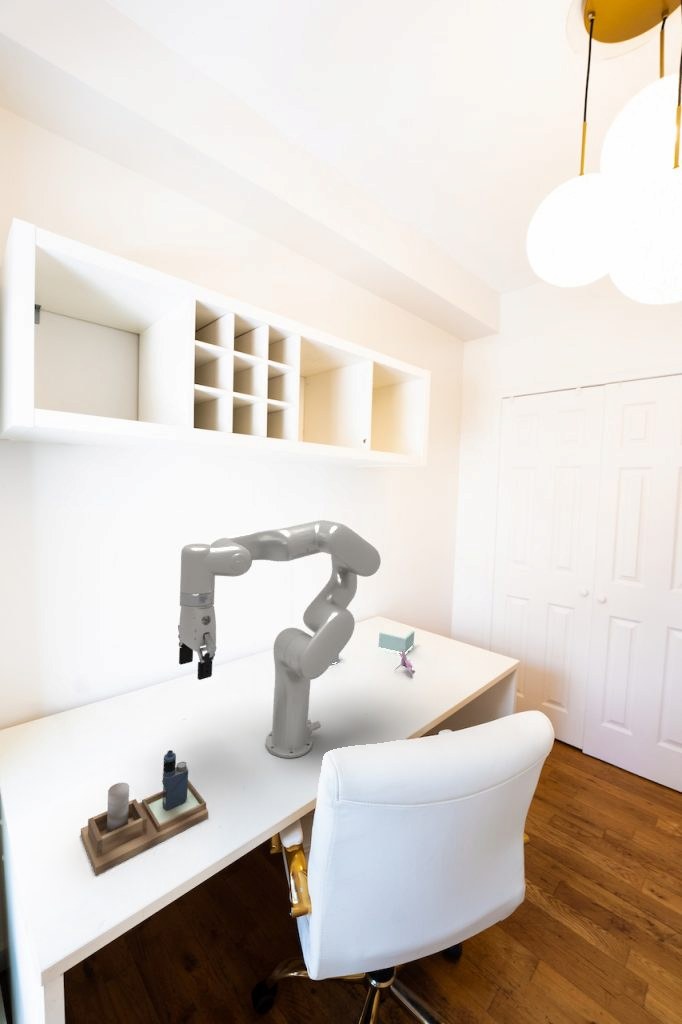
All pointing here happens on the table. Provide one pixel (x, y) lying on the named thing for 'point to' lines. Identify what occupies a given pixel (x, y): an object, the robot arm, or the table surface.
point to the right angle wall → (396, 642)
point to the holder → (136, 825)
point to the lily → (405, 661)
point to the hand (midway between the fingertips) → (194, 670)
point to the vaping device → (174, 782)
